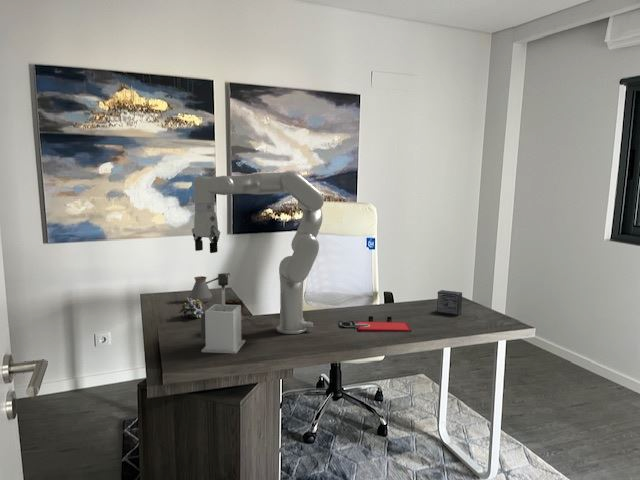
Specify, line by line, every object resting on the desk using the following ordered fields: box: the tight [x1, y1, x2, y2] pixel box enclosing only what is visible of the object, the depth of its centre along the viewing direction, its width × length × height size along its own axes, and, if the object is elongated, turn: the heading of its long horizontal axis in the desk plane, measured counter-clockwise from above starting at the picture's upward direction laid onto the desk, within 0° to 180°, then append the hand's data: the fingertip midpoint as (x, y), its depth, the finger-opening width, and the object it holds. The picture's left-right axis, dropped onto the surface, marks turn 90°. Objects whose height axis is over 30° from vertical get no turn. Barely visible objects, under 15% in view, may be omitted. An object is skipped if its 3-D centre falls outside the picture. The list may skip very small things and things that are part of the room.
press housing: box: [200, 304, 246, 355], centre depth 177 cm, size 15×13×15 cm
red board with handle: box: [338, 315, 412, 333], centre depth 206 cm, size 30×3×15 cm
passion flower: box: [178, 296, 204, 319], centre depth 217 cm, size 11×11×12 cm
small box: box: [436, 289, 463, 316], centre depth 229 cm, size 11×6×10 cm, turn 58°
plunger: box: [217, 272, 229, 312], centre depth 176 cm, size 8×8×20 cm
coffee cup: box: [225, 298, 245, 324], centre depth 197 cm, size 9×8×13 cm
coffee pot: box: [189, 272, 231, 304], centre depth 248 cm, size 21×12×15 cm, turn 97°
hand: (206, 251), depth 186 cm, fingers open, 9 cm apart
